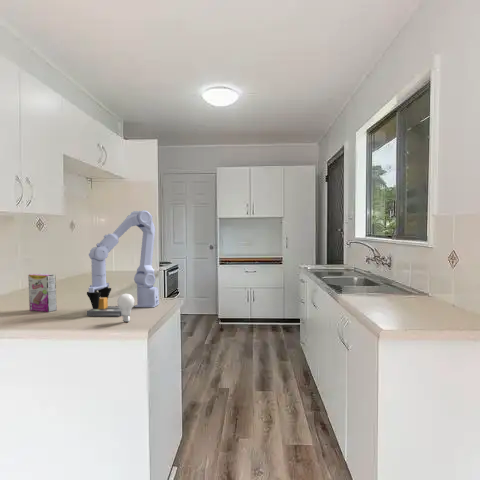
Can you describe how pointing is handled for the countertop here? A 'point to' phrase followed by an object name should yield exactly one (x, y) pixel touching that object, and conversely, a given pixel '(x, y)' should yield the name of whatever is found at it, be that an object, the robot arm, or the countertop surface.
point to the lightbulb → (126, 305)
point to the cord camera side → (105, 315)
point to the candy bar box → (42, 292)
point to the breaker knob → (103, 303)
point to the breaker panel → (106, 311)
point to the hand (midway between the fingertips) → (99, 306)
